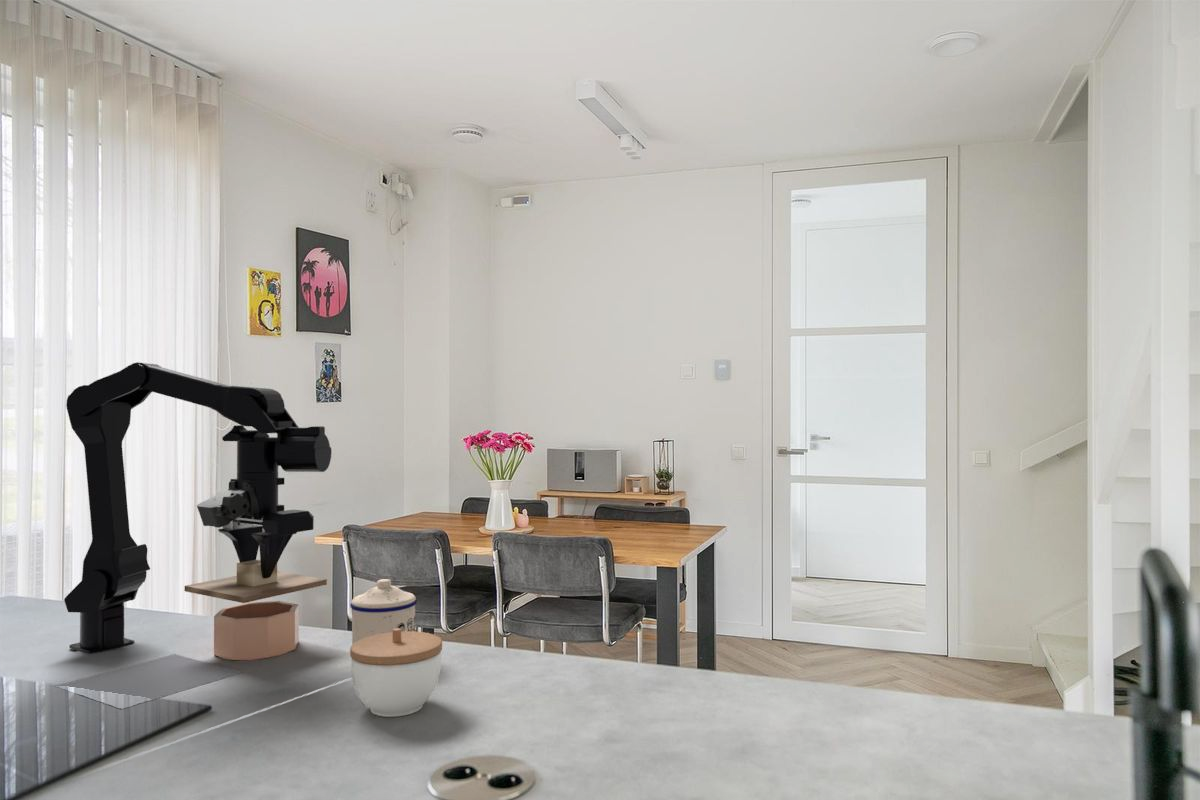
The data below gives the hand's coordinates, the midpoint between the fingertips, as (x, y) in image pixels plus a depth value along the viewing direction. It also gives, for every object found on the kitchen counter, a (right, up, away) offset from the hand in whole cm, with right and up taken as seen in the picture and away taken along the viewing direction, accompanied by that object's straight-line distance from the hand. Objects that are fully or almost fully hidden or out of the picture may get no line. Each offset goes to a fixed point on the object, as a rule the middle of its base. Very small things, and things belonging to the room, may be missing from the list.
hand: (257, 576), depth 121 cm
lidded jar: (+27, -11, -24) cm, 37 cm away
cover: (0, -2, 0) cm, 2 cm away
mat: (-8, -11, -14) cm, 19 cm away
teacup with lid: (+21, -11, -5) cm, 24 cm away
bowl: (0, -11, 0) cm, 11 cm away
